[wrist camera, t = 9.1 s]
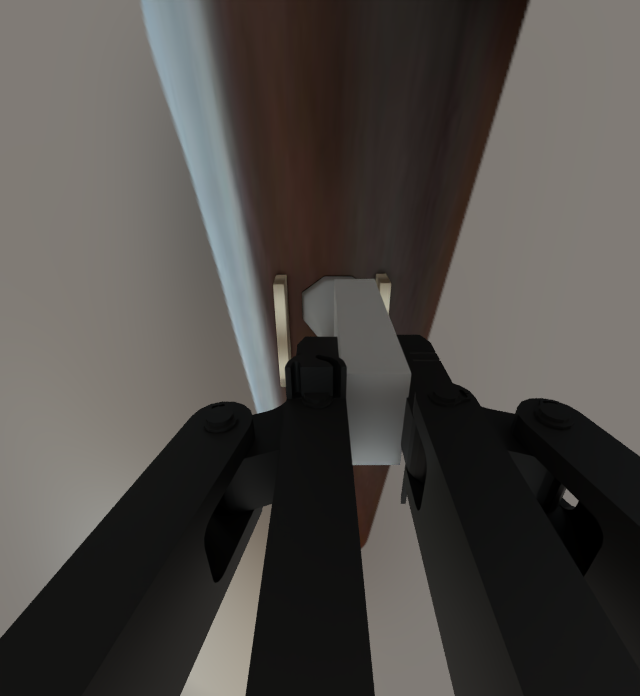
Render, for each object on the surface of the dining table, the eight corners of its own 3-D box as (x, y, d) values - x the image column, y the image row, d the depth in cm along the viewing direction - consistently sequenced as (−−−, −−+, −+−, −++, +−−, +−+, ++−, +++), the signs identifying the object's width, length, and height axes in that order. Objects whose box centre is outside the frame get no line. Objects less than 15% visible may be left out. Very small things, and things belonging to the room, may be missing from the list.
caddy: (276, 274, 37) (273, 284, 35) (386, 273, 37) (391, 283, 34) (283, 372, 43) (280, 386, 40) (378, 371, 43) (382, 385, 40)
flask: (377, 327, 40) (392, 377, 31) (313, 345, 41) (311, 399, 32) (358, 264, 37) (370, 300, 28) (290, 286, 38) (281, 328, 29)
